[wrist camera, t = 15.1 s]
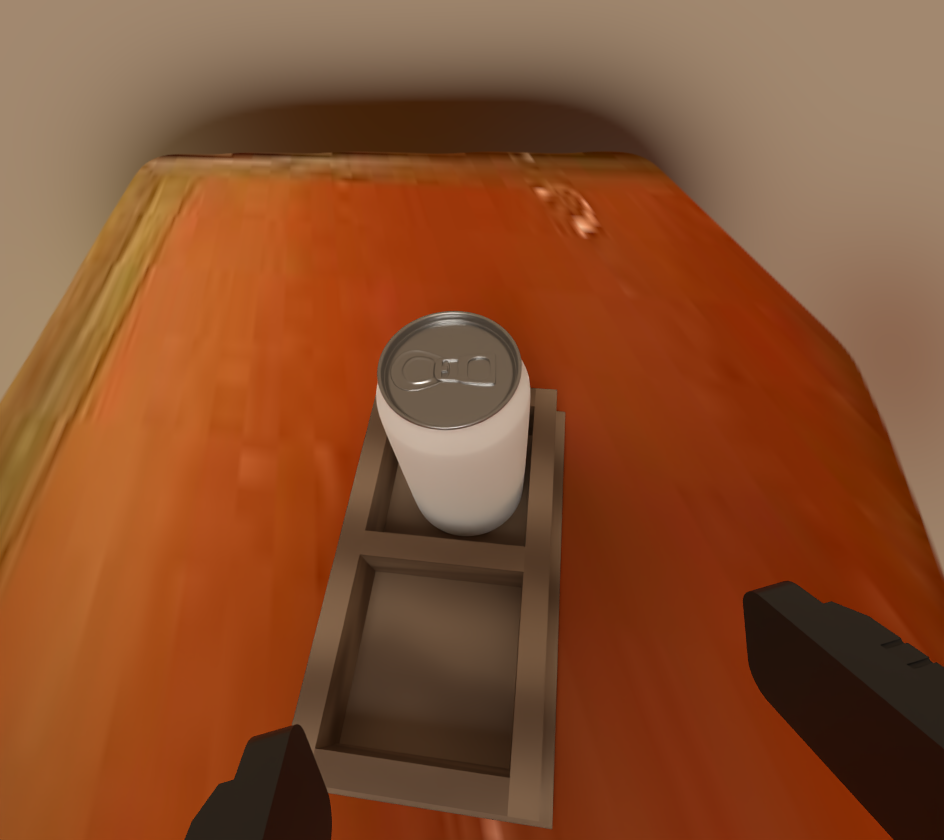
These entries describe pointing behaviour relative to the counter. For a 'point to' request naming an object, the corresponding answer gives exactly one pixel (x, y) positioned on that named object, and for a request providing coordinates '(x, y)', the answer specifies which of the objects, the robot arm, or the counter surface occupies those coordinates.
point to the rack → (442, 644)
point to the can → (457, 418)
